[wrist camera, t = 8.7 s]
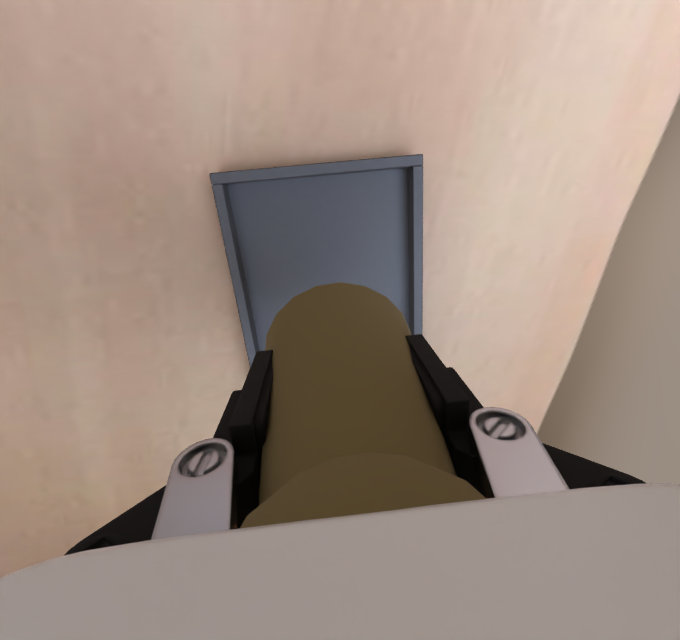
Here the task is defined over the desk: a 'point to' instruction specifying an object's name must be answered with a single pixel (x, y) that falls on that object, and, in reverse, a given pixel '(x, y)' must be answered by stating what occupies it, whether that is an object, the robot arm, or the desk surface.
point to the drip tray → (322, 234)
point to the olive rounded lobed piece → (348, 414)
